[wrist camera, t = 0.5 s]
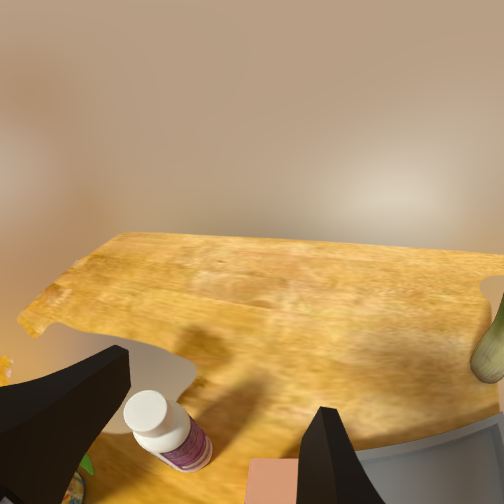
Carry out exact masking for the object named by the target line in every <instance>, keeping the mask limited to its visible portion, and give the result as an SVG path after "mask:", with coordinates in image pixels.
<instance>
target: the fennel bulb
mask: <svg viewBox="0 0 504 504" xmlns="http://www.w3.org/2000/svg"><path fill="white" fill-rule="evenodd" d="M471 370H472V371H473V372H474V374H475V376H476V377H477V378H478V379H479V380H480V381H482V382H483V383H496V382H498V381H499V380H501V379H502V378H503V377H504V294H503V298H502V300H501V304H500V307H499V310H498V312H497V315H496V317H495V319H494V321H493V323H492V325H491V327H490V328H489V329H488V331H487V332H486V333H485V335H484V336H483V337H482V339H481V340H480V342H479V343H478V345H477V347H476V349H475V350H474V352H473V354H472V356H471Z"/></svg>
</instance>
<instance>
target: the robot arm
mask: <svg viewBox="0 0 504 504" xmlns="http://www.w3.org/2000/svg"><path fill="white" fill-rule="evenodd" d="M130 388H131V381H130V367H129V351H128V350H127V349H124V348H122V347H120V346H117V345H113V346H111V347H109V348H107V349H105V350H103V351H101V352H99V353H97V354H95V355H93V356H91V357H89V358H87V359H85V360H82V361H80V362H78V363H76V364H74V365H72V366H69V367H67V368H65V369H62V370H60V371H57V372H55V373H52V374H49V375H47V376H44V377H41V378H38V379H35V380H31V381H27V382H23V383H19V384H13V385H8V386H2V387H0V504H62V501H63V498H64V496H65V493H66V491H67V489H68V487H69V484H70V482H71V480H72V478H73V476H74V474H75V472H76V470H77V468H78V466H79V464H80V463H81V461H82V459H83V457H84V455H85V454H86V452H87V450H88V449H89V447H90V446H91V444H92V443H93V441H94V440H95V439H96V437H97V436H98V435H99V434H100V432H101V431H102V430H103V428H104V427H105V426H106V424H107V423H108V422H109V420H110V419H111V418H112V417H113V415H114V414H115V412H116V411H117V410H118V408H119V407H120V406H121V404H122V402H123V400H124V399H125V397H126V395H127V393H128V391H129V389H130ZM296 504H386V503H385V502H384V501H383V499H382V498H381V496H380V495H379V493H378V492H377V491H376V489H375V487H374V486H373V484H372V483H371V481H370V479H369V478H368V476H367V474H366V472H365V470H364V469H363V467H362V465H361V463H360V461H359V459H358V457H357V455H356V453H355V451H354V449H353V446H352V444H351V442H350V440H349V437H348V435H347V433H346V430H345V428H344V426H343V423H342V421H341V418H340V416H339V413H338V411H337V409H334V408H327V407H321V406H320V408H319V409H318V411H317V413H316V415H315V417H314V418H313V420H312V422H311V424H310V425H309V427H308V429H307V430H306V432H305V434H304V435H303V437H302V442H301V447H300V453H299V459H298V476H297V495H296Z"/></svg>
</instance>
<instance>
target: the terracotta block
mask: <svg viewBox="0 0 504 504" xmlns="http://www.w3.org/2000/svg"><path fill="white" fill-rule="evenodd" d="M297 476H298V459H262V458H251V460H250V467H249V474H248V482H247V489H246V495H245V502H244V504H296V495H297Z"/></svg>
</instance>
